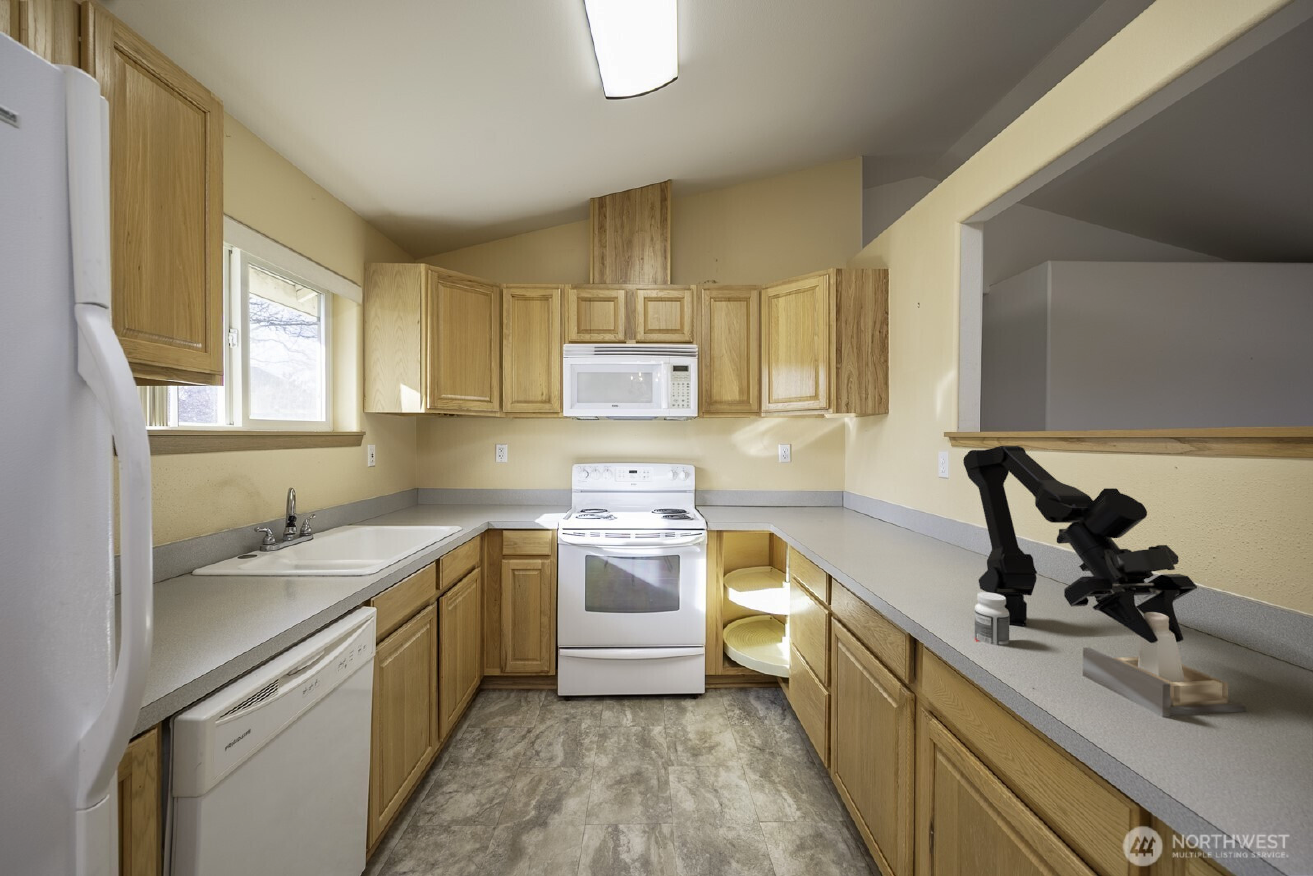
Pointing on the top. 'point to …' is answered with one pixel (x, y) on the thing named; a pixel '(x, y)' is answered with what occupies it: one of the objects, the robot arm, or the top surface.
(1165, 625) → the pepper shaker
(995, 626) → the pill bottle
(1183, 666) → the light wooden tray
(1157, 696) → the open wooden tray
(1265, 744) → the top surface
